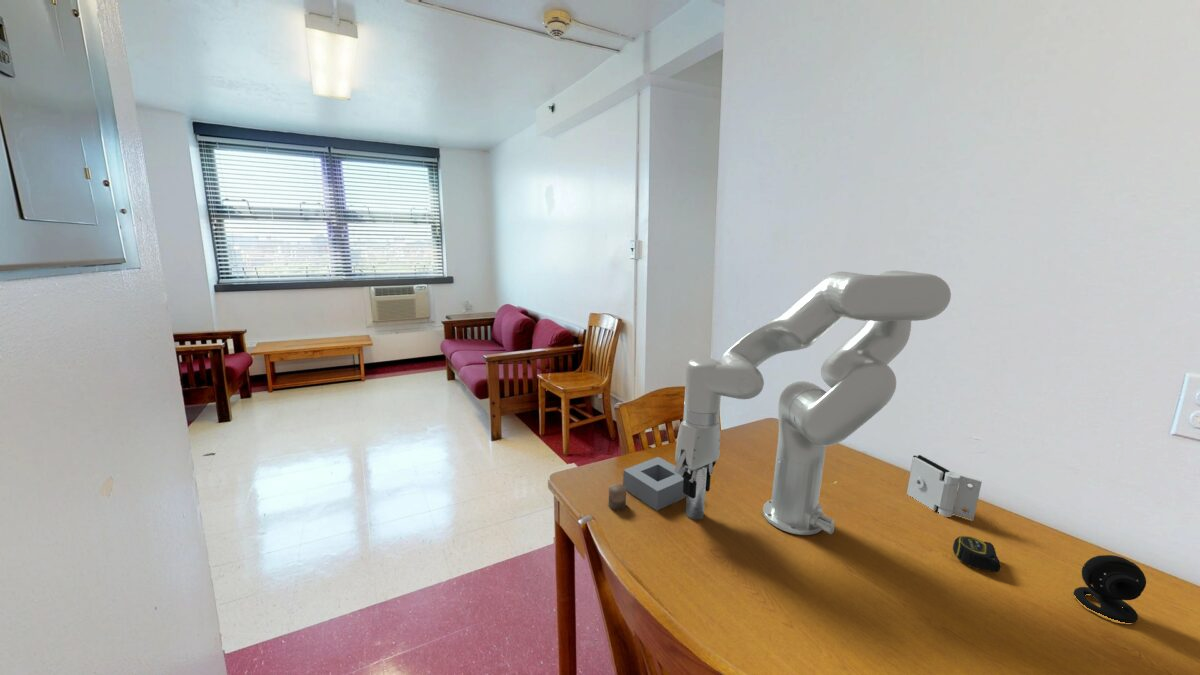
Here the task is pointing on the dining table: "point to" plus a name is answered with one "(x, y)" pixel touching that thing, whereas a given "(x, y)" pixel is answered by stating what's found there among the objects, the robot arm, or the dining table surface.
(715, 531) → the dining table surface
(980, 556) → the tape measure
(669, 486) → the hole block
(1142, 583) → the webcam
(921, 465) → the hinge
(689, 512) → the steel pin
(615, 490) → the walnut pin
